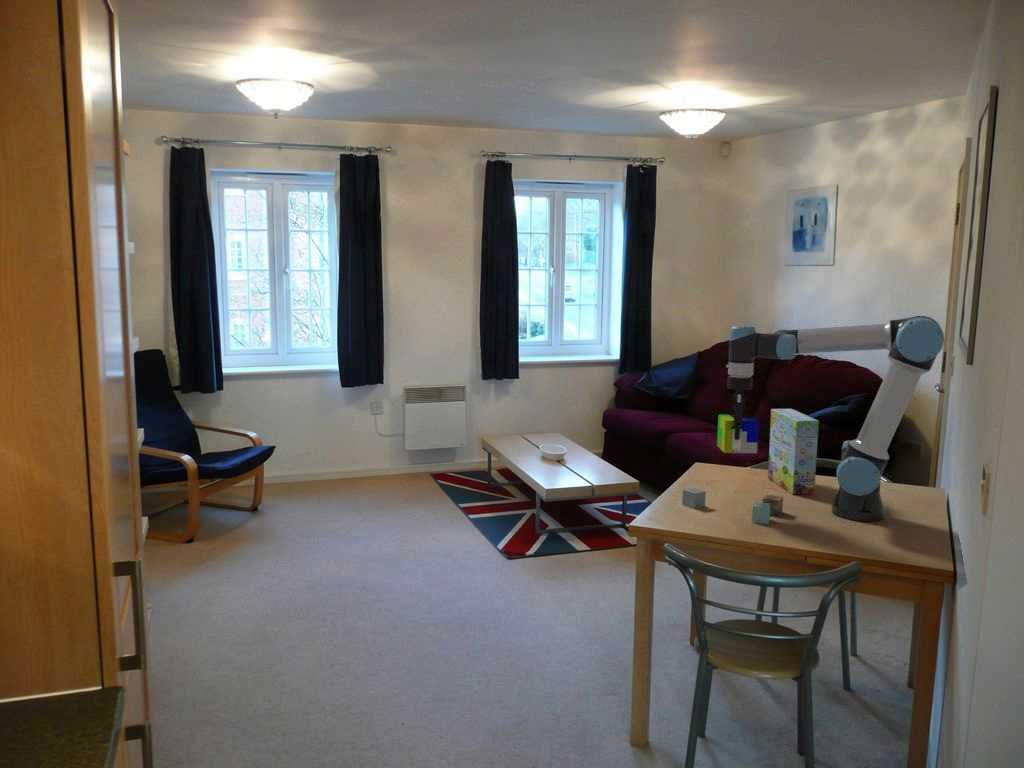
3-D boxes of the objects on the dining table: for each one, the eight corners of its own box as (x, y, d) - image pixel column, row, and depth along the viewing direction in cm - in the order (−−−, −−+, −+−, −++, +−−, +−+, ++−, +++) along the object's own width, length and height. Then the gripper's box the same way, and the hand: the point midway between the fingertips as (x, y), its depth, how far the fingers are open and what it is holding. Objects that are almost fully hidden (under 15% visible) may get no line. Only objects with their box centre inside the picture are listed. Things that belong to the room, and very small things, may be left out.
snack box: (765, 478, 306) (769, 408, 302) (788, 478, 307) (793, 408, 303) (791, 495, 284) (796, 420, 280) (815, 495, 285) (821, 419, 281)
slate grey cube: (704, 506, 270) (705, 491, 270) (693, 509, 267) (694, 493, 267) (693, 502, 274) (694, 487, 274) (682, 505, 272) (683, 489, 271)
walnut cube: (782, 512, 265) (783, 497, 265) (778, 516, 261) (779, 500, 260) (766, 509, 268) (767, 494, 267) (761, 513, 264) (762, 498, 263)
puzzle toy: (756, 453, 260) (758, 421, 258) (723, 452, 260) (725, 420, 258) (748, 445, 269) (750, 414, 268) (717, 445, 270) (718, 414, 268)
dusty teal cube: (768, 519, 258) (769, 503, 258) (769, 524, 253) (770, 508, 253) (751, 517, 260) (752, 501, 259) (751, 522, 255) (752, 506, 254)
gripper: (728, 370, 273) (725, 437, 277) (726, 380, 251) (723, 453, 254) (752, 371, 271) (749, 438, 275) (752, 381, 249) (749, 454, 252)
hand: (736, 445), depth 265 cm, fingers closed on puzzle toy, 11 cm apart
